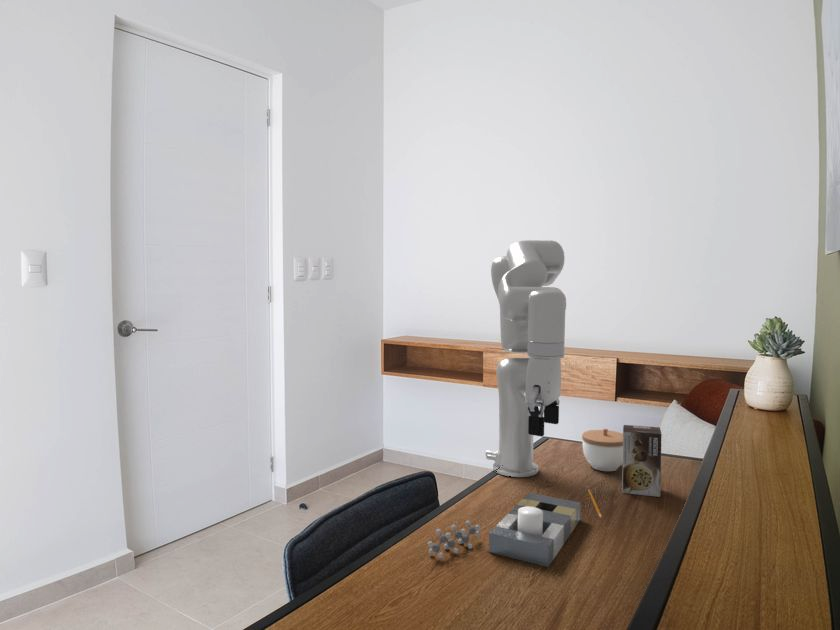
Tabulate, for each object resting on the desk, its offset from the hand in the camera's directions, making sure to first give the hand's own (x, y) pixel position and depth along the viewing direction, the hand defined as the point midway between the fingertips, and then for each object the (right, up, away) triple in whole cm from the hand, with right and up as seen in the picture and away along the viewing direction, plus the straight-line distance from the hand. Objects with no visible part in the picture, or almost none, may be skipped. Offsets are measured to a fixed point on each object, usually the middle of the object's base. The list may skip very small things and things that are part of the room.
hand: (543, 428), depth 124 cm
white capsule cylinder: (-4, -23, -4) cm, 24 cm away
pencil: (+16, -22, +18) cm, 32 cm away
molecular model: (-19, -23, -7) cm, 31 cm away
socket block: (-1, -22, 0) cm, 23 cm away
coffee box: (+30, -21, +25) cm, 44 cm away
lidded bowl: (+26, -19, +43) cm, 54 cm away
